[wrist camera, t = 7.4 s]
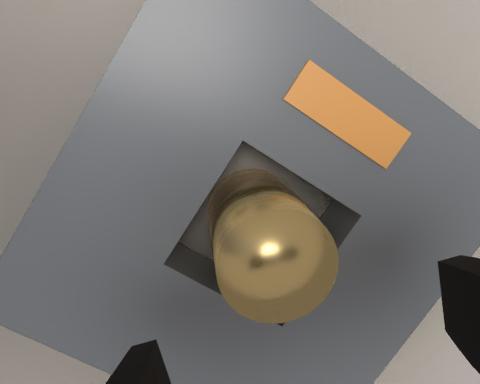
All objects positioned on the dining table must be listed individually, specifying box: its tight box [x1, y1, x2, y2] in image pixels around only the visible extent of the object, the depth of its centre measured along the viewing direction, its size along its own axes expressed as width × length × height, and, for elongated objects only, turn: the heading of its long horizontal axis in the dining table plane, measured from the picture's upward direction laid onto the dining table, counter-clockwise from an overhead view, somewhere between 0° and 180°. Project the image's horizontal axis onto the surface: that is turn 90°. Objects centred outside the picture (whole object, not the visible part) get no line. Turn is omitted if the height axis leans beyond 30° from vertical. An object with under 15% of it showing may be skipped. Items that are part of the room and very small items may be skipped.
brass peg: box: [208, 169, 339, 324], centre depth 17 cm, size 4×4×6 cm
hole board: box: [0, 0, 480, 384], centre depth 18 cm, size 16×16×3 cm
